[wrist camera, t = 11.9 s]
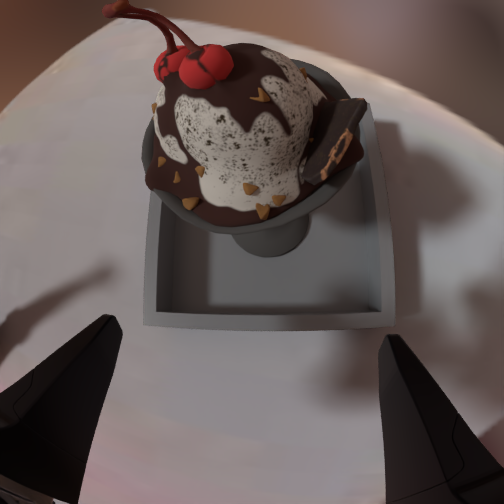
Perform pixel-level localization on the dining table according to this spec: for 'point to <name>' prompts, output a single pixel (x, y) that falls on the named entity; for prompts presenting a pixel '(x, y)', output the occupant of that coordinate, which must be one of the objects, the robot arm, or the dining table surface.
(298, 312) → the tray
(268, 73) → the sundae
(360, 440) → the dining table surface
